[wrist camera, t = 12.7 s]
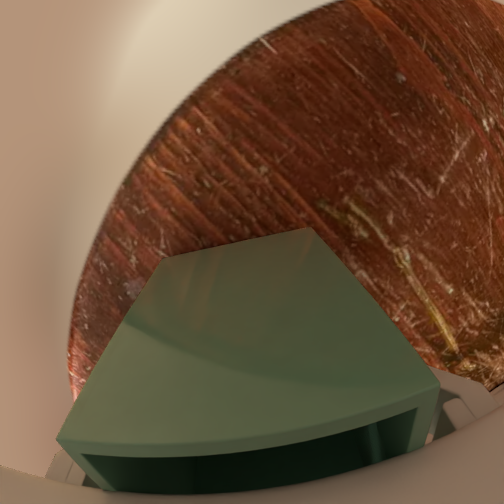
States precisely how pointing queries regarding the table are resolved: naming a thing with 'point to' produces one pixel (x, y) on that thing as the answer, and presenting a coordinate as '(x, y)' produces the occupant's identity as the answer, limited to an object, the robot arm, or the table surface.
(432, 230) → the table surface
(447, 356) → the table surface
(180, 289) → the green rectangular container
